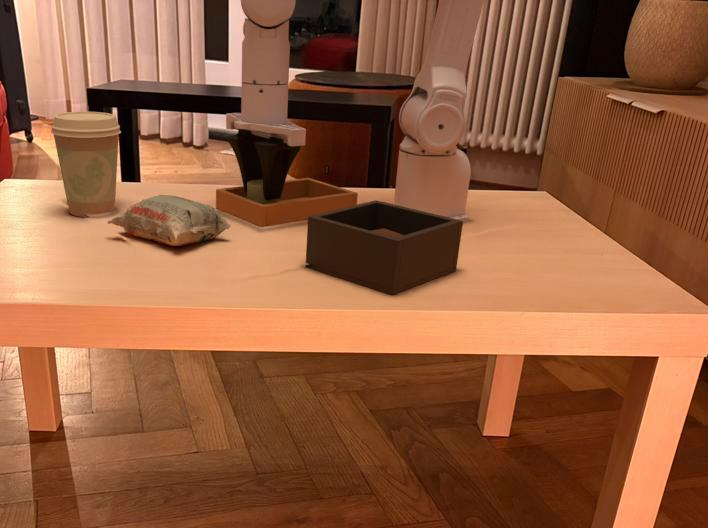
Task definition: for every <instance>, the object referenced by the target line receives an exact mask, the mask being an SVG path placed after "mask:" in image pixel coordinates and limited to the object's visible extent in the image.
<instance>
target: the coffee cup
mask: <svg viewBox="0 0 708 528" xmlns="http://www.w3.org/2000/svg"><path fill="white" fill-rule="evenodd" d="M120 128H121V126H120V124H119V122H118V119H117V116H116V115H115V114H113V113H108V112H103V111H102V112H101V111H69V112H67V111H66V112H60V113H57V114H55V115H54V116H53V122H52V125H51V132H50V133H51V135H52V134H53V138H54V143H55V148H56V153H57V158H58V162H59V163H58V164H59V168H60V172H61V178H62V183H63V189H64V192H65V193H64V194H65V197H66V203H67V207H68V212H69V214H71V215H72V216H76V217H80V218H90V216H89V215H98V214H99V215H100V214H107V213H110V212H113V211H114V210H115V209H116V197H117V195H116V193H117V174H118V155H119V137H120V136H119V134H121V133H122V131H121V129H120Z"/></svg>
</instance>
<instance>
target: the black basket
mask: <svg viewBox="0 0 708 528" xmlns="http://www.w3.org/2000/svg"><path fill="white" fill-rule="evenodd" d="M463 225H464V221H463V220H462V219H460V220H457V219H453V218H449V217H445V216H440V215H436V214H432V213H428V212H423V211H419V210H415V209H411V208H407V207H402V206H398V205H394V203H389V202H385V201H381V200H377V199H374V200H372V201H367V202H362V203H357V205H354V206H350V207H346V208H342V209H338V210H334V211H329V212H325V213H321V214H317V215H312V216H308V220H307V231H306V249H305V264H306V265H305V268H308V269H311V270H314V271H318V272H321V273H323V274H327V275H330V276H334V277H335V278H339V279H342V280H345V281H348V282H351V283H355V284H357V285H361V286H363V287H366V288H369V289H373V290H376V291H379V292H382V293H385V294H388V295H391V296H393V295H394V296H395V295H396V294H400V293H401V292H404V291H407V290H409V289H413V288H414V287H415V288H416V287H417V286H420V285H422V284H426V283H428V282H430V281H433V280H435V279H438V278H440V277H443V276H444V277H445V276H446V275H448V274H451V273H454V272H456V271H457V267H458V260H459V253H460V246H461V240H462V232H463ZM383 228H384V229H387V230H390V231H393V232H396V233H399V234H402V235H404V236H401V237H397V238H395V237H392V236H388V235H384V234H381V233H377V232H373V231H372V230H378V229H383Z"/></svg>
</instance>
